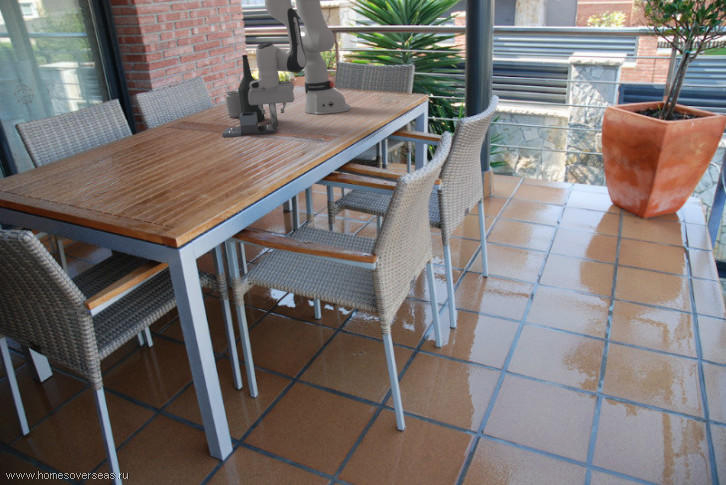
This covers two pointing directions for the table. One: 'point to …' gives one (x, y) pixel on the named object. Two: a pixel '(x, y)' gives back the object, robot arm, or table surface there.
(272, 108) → the pin
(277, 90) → the robot arm
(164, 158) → the table surface
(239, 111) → the can
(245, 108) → the bottle
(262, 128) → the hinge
